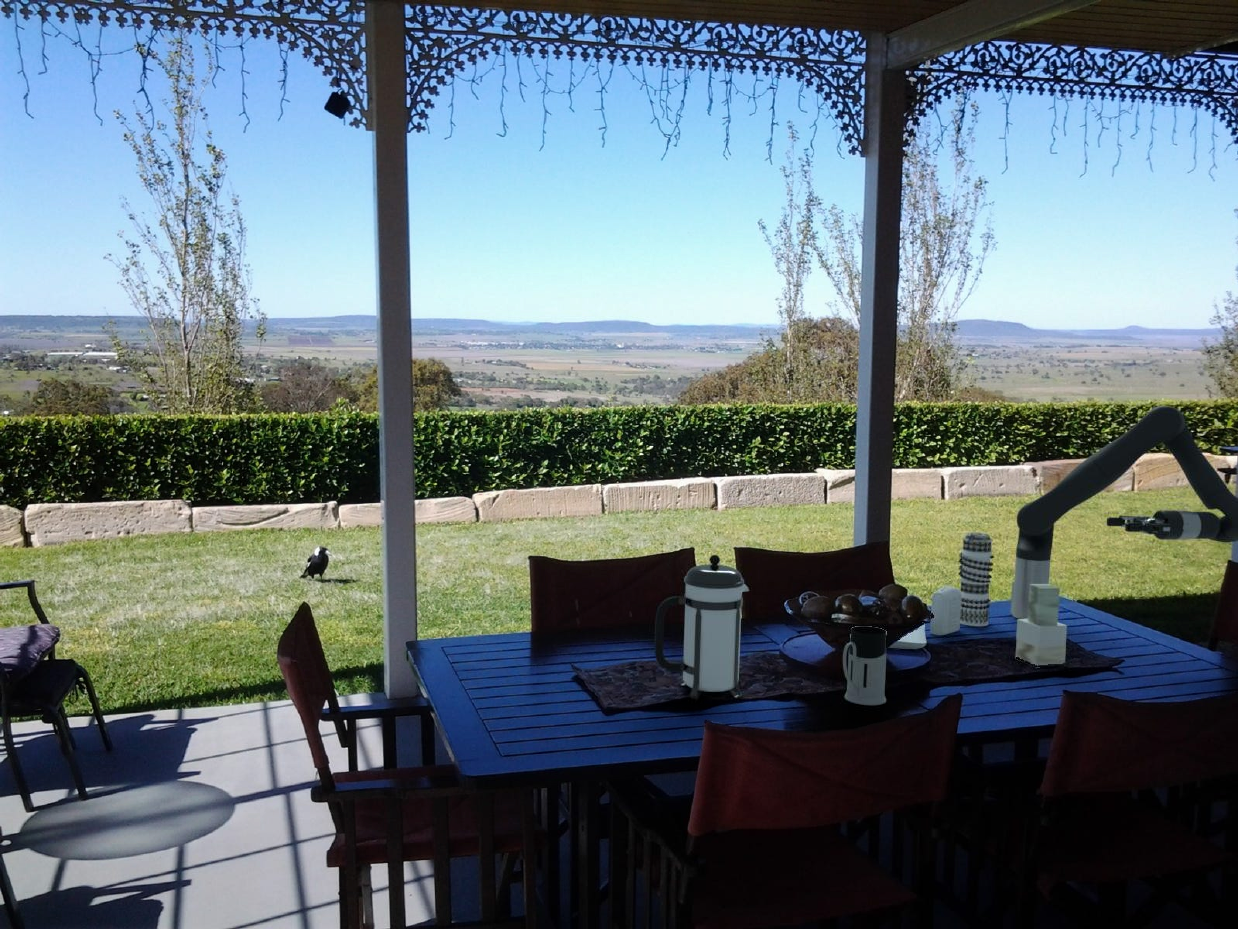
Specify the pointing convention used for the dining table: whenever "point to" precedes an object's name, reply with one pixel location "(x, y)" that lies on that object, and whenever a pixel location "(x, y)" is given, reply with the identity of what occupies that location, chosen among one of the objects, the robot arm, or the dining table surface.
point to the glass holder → (866, 665)
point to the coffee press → (707, 629)
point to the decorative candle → (975, 579)
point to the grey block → (1041, 634)
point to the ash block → (1040, 654)
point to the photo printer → (946, 611)
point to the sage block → (1043, 604)
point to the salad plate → (912, 640)
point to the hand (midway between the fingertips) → (1116, 524)
